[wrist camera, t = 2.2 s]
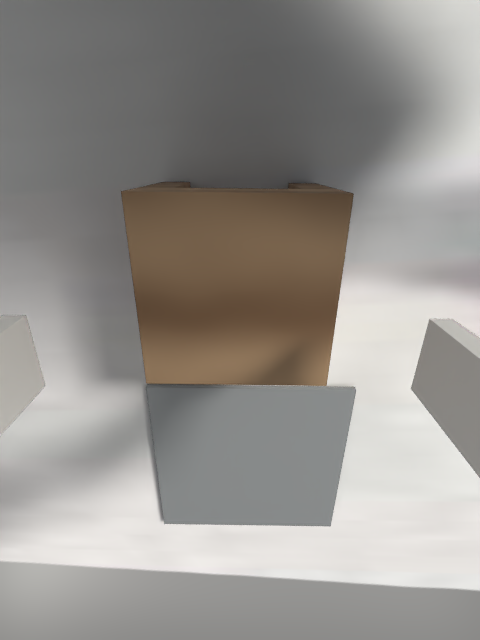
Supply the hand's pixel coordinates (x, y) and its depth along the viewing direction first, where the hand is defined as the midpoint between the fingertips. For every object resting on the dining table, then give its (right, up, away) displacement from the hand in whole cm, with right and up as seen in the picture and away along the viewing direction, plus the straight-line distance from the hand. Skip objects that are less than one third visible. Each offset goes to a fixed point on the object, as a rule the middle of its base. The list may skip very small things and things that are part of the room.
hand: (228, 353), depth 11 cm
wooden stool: (0, +5, +10) cm, 12 cm away
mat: (+1, -11, +18) cm, 21 cm away
